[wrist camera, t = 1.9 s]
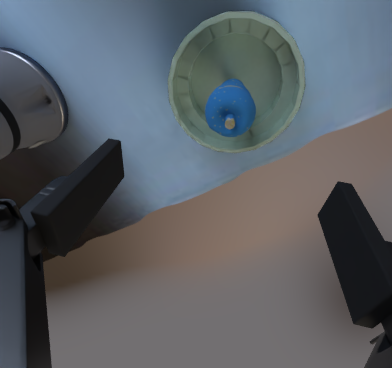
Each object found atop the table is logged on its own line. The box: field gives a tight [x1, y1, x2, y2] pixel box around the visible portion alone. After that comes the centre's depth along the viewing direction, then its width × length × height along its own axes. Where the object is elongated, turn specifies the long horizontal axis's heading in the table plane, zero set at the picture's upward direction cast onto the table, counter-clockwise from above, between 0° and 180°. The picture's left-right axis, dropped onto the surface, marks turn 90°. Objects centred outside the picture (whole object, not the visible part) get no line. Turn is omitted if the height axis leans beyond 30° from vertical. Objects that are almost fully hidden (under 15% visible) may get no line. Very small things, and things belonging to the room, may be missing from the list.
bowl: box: [168, 11, 305, 153], centre depth 30 cm, size 16×16×6 cm
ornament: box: [205, 79, 256, 137], centre depth 26 cm, size 5×5×15 cm
